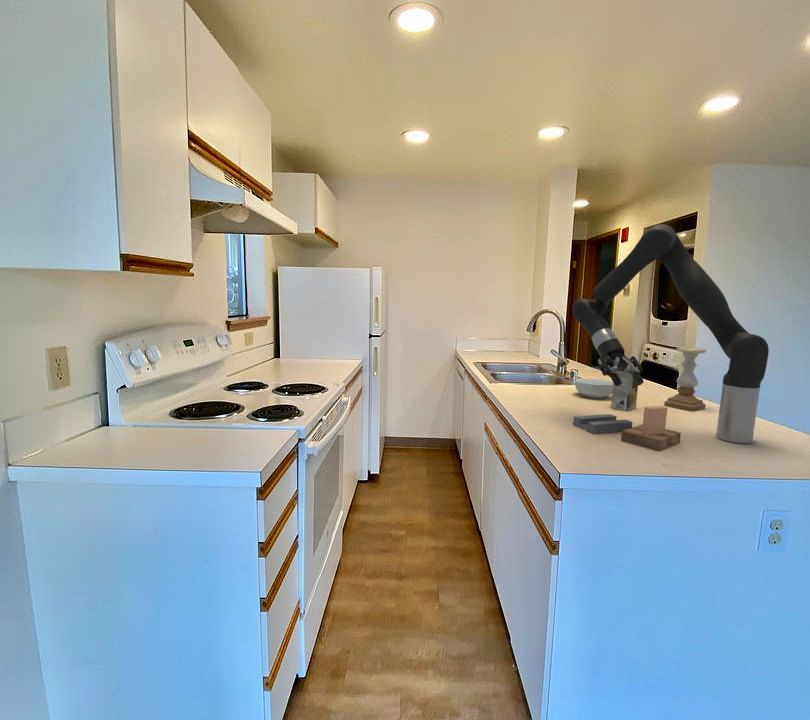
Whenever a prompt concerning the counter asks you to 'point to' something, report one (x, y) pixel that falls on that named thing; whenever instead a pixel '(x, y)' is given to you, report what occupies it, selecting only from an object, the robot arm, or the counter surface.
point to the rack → (601, 423)
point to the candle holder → (687, 383)
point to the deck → (650, 438)
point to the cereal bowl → (594, 387)
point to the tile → (654, 420)
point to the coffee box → (624, 392)
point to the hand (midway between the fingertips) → (630, 384)
